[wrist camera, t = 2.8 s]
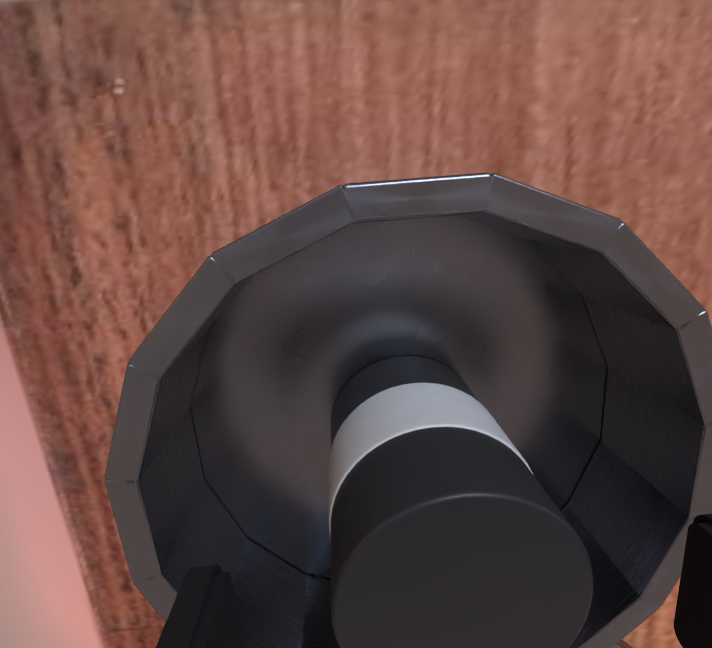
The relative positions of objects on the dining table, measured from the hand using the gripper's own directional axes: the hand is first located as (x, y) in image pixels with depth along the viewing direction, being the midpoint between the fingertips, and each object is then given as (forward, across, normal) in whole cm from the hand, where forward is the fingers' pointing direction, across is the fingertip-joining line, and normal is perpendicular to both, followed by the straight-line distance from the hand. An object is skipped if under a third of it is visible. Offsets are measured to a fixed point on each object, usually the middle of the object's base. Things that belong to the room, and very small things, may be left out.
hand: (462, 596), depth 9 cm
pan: (+7, 0, 0) cm, 7 cm away
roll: (+6, 0, 0) cm, 6 cm away
